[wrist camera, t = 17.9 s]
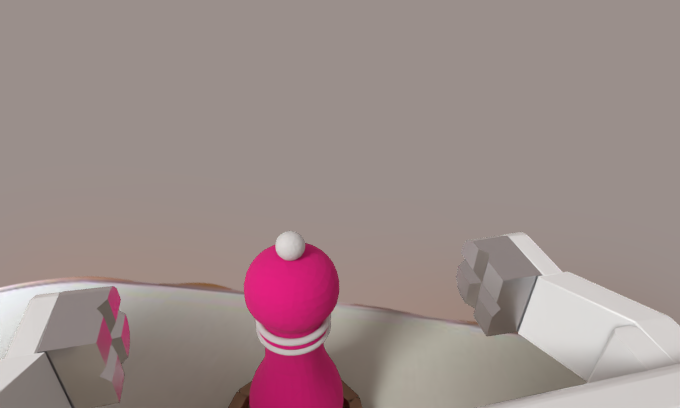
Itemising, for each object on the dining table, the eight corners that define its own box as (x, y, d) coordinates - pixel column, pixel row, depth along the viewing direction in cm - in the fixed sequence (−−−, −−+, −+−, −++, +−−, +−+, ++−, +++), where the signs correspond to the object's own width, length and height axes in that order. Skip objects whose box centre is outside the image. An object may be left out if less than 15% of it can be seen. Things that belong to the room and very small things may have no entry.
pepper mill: (239, 462, 35) (204, 263, 24) (270, 382, 41) (253, 194, 30) (331, 484, 34) (336, 285, 23) (349, 399, 40) (361, 209, 29)
